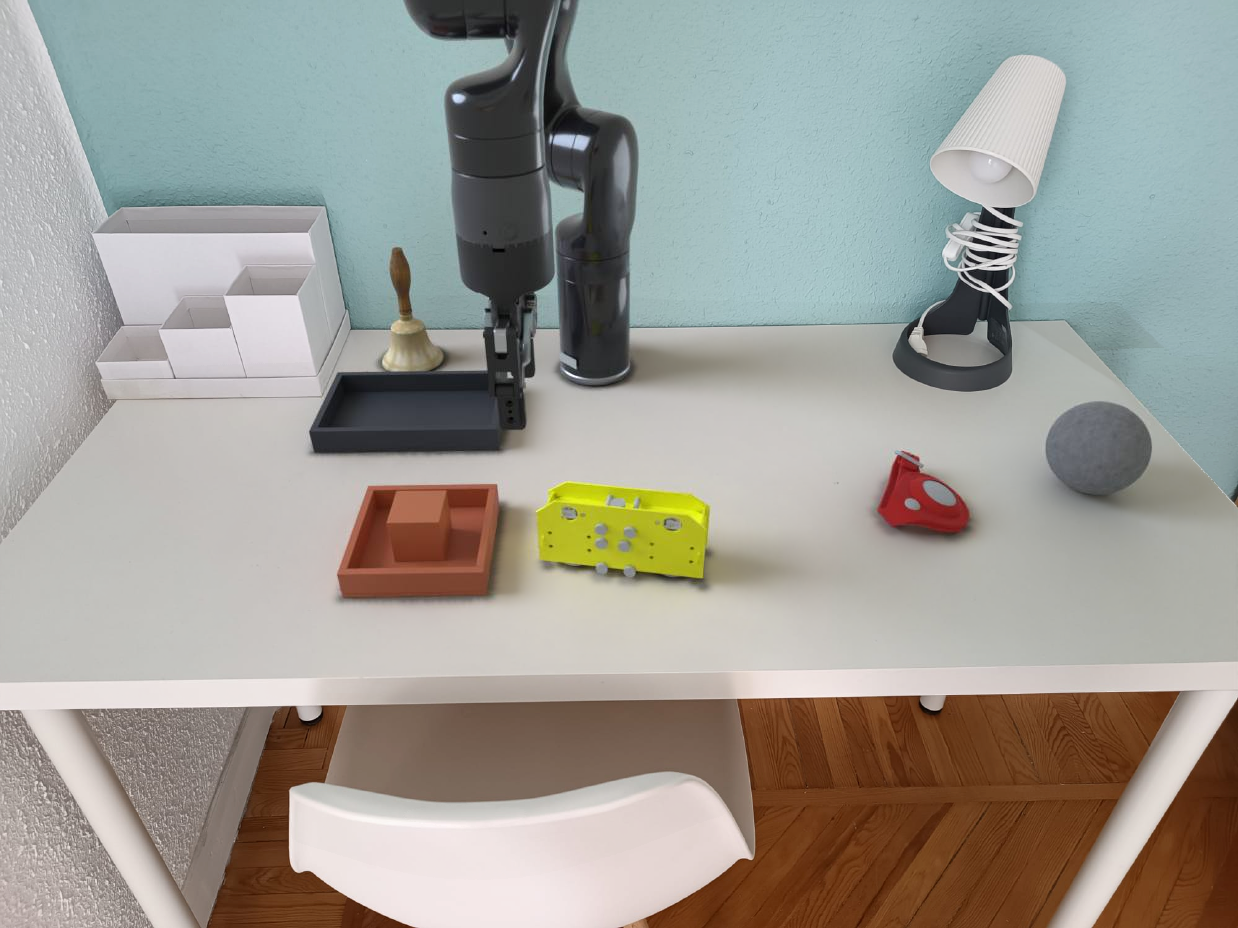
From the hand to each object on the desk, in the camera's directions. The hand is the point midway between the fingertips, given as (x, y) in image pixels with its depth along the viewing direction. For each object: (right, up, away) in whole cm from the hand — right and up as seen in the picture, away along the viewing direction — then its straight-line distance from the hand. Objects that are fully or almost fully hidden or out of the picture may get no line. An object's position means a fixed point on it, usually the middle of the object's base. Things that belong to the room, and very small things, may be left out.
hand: (518, 400), depth 77 cm
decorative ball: (+60, -8, +20) cm, 64 cm away
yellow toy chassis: (+9, -15, +10) cm, 20 cm away
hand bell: (-19, +9, +43) cm, 48 cm away
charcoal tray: (-16, 0, +31) cm, 35 cm away
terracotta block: (-11, -14, +11) cm, 21 cm away
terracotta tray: (-11, -14, +11) cm, 21 cm away
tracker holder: (+41, -10, +17) cm, 46 cm away
